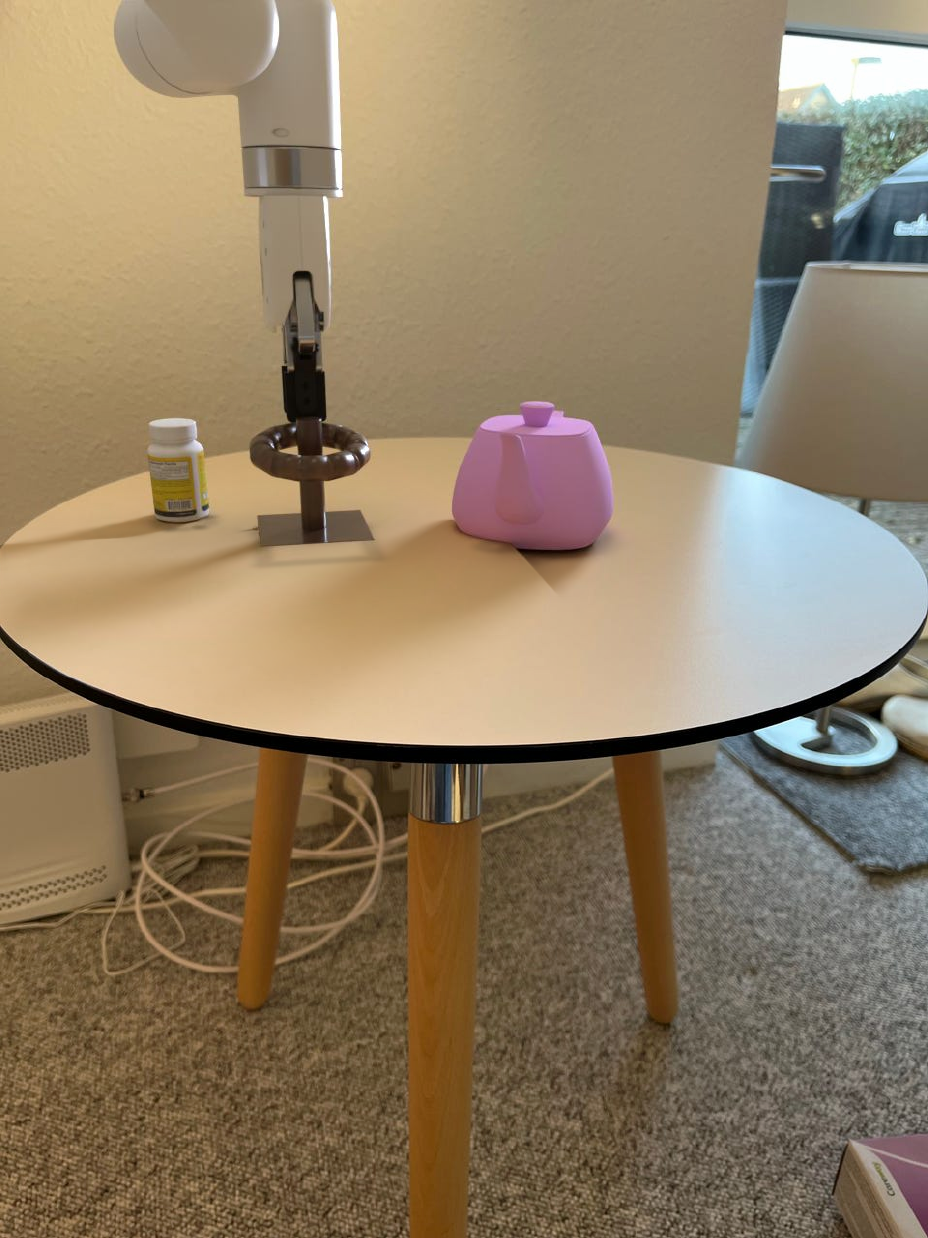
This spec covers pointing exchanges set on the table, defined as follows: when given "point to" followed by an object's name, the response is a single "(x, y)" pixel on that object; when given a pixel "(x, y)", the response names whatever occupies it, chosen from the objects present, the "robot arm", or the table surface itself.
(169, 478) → the supplement bottle
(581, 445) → the teapot
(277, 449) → the ring
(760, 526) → the table surface
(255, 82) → the robot arm
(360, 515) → the stand
